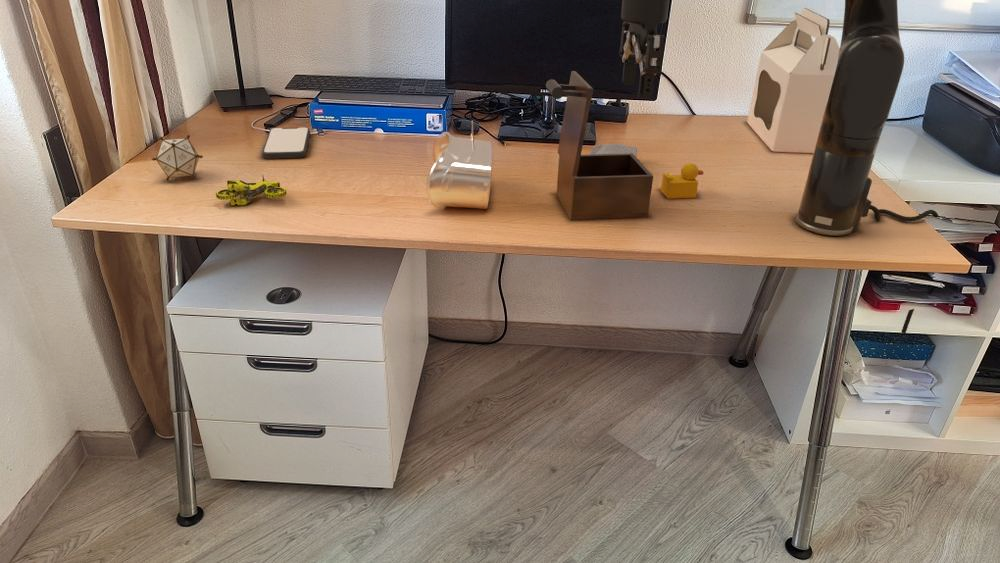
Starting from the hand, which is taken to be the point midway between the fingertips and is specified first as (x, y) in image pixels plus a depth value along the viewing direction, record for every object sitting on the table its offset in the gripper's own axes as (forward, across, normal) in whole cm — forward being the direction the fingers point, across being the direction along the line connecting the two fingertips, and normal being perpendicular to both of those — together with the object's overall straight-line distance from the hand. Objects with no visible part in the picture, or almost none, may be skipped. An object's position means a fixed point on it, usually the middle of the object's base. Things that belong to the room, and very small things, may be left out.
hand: (636, 90), depth 123 cm
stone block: (+21, +17, -3) cm, 27 cm away
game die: (+19, +20, +82) cm, 87 cm away
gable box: (+21, +33, -51) cm, 64 cm away
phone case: (+19, +36, +64) cm, 76 cm away
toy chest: (+20, -2, +5) cm, 21 cm away
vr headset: (+20, +6, +30) cm, 37 cm away
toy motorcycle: (+20, +8, +68) cm, 71 cm away
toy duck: (+21, +2, -12) cm, 24 cm away
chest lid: (+5, -2, +11) cm, 12 cm away
